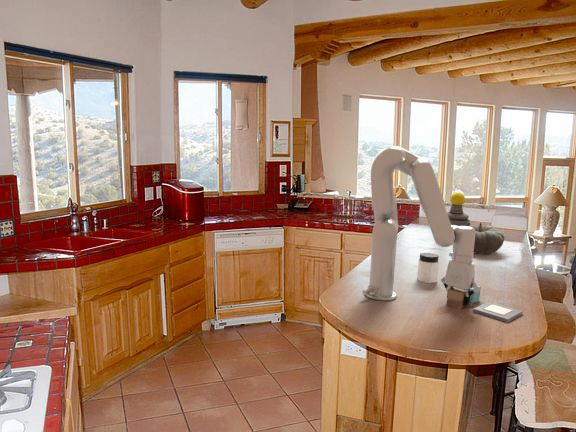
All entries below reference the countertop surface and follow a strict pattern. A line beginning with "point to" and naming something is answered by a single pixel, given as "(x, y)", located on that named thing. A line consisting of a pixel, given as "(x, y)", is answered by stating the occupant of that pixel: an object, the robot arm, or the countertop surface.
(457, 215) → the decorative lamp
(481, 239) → the gourd
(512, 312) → the grey square plate
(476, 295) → the teal block
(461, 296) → the walnut block
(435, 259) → the jar
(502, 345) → the countertop surface
